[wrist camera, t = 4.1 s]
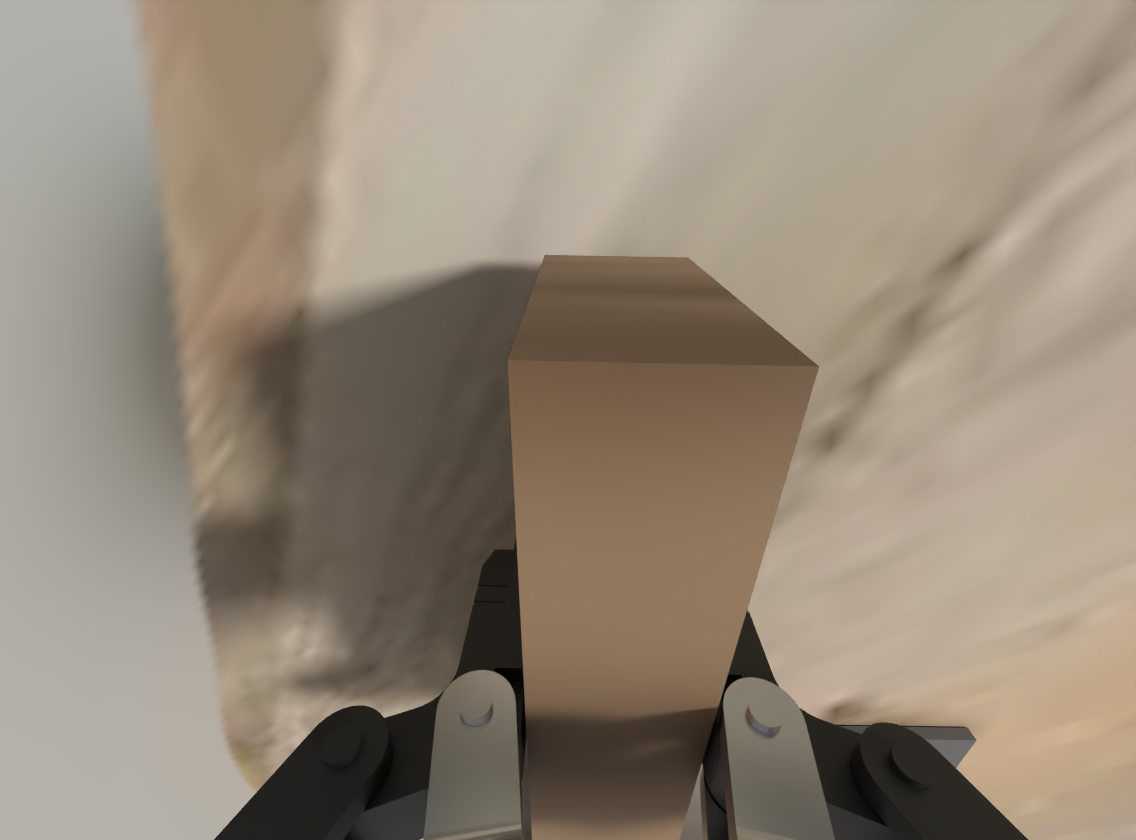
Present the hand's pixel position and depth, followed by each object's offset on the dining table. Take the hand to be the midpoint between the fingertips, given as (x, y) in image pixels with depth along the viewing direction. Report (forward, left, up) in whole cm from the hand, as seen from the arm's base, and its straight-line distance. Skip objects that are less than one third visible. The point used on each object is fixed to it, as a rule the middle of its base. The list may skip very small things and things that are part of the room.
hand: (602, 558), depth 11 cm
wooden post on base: (0, 0, -2) cm, 2 cm away
